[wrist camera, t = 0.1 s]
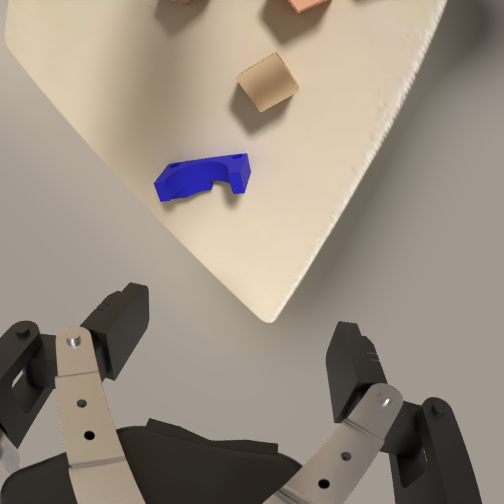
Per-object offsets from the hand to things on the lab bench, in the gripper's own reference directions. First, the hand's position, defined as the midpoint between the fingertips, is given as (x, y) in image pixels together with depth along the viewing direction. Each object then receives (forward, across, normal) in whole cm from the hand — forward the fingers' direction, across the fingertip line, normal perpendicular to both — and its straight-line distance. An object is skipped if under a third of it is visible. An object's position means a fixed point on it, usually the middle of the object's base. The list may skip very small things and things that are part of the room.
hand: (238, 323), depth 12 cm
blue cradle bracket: (+34, +9, -1) cm, 35 cm away
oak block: (+28, +2, -15) cm, 32 cm away
